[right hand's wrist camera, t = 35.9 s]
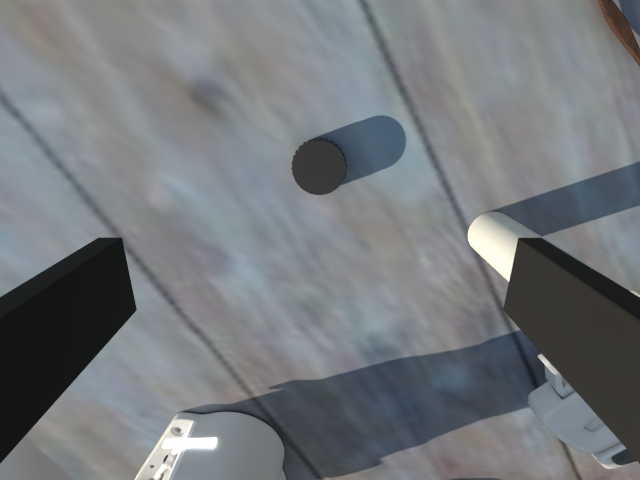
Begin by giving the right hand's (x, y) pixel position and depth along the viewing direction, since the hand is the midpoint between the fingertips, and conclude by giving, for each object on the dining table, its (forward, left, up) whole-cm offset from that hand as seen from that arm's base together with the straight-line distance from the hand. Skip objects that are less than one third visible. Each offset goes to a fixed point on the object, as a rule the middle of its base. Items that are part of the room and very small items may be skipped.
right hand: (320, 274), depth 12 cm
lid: (0, 0, -24) cm, 24 cm away
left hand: (-1, +30, -20) cm, 36 cm away
